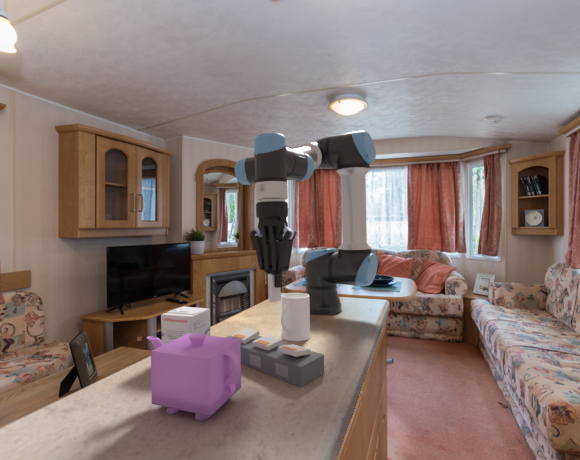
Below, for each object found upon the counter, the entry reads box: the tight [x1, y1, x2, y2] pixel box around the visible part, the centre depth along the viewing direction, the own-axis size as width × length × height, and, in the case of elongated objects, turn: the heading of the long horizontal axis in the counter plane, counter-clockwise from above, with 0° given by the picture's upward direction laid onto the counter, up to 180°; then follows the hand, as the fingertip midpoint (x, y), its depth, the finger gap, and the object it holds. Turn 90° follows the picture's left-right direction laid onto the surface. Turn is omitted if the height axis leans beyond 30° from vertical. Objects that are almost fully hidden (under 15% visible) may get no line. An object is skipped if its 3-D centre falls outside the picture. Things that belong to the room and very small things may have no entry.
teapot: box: [146, 333, 242, 421], centre depth 60 cm, size 20×10×12 cm, turn 70°
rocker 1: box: [230, 326, 261, 344], centre depth 82 cm, size 5×5×1 cm
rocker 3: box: [278, 343, 312, 357], centre depth 72 cm, size 5×5×1 cm
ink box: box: [160, 306, 211, 345], centre depth 81 cm, size 9×8×12 cm
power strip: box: [225, 335, 325, 388], centre depth 79 cm, size 8×32×4 cm, turn 49°
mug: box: [280, 292, 312, 342], centre depth 94 cm, size 12×8×12 cm
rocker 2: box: [253, 334, 284, 351], centre depth 77 cm, size 5×5×1 cm
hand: (274, 300), depth 78 cm, fingers closed
